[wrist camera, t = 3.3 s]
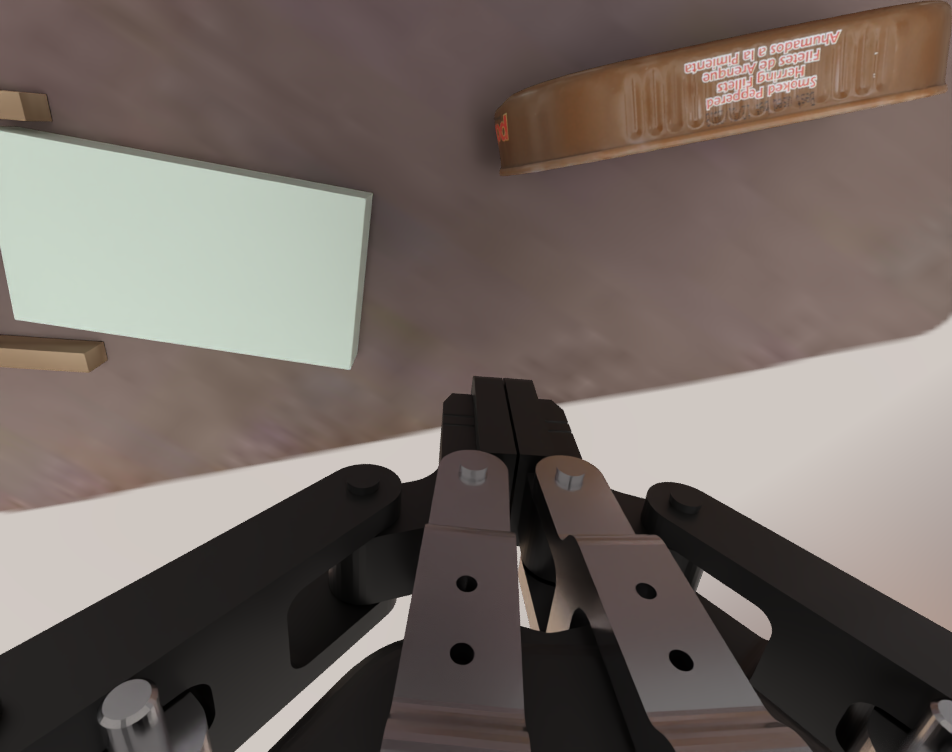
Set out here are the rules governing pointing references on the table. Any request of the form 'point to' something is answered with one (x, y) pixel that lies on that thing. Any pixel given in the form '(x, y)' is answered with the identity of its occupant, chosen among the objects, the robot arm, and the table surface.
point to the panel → (181, 249)
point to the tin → (728, 87)
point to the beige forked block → (38, 349)
